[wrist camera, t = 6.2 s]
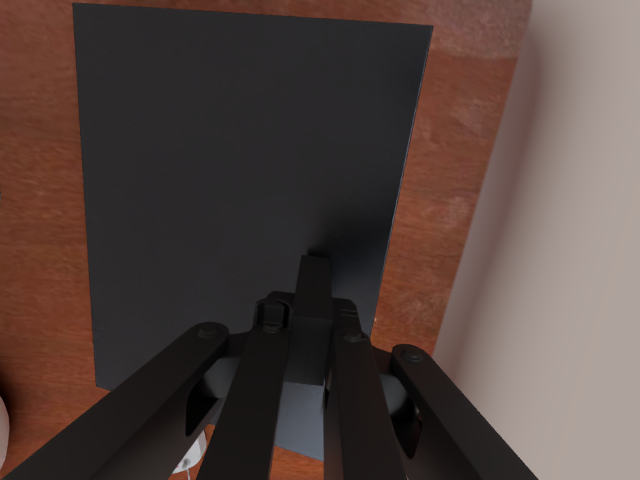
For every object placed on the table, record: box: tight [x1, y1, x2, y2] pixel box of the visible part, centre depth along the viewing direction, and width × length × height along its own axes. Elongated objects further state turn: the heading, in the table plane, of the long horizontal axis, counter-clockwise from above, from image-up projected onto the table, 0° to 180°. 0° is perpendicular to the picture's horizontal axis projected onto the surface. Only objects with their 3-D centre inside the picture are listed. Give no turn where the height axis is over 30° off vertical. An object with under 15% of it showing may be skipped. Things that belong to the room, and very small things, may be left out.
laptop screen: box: [72, 2, 433, 462], centre depth 20 cm, size 19×25×1 cm
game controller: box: [173, 430, 206, 480], centre depth 28 cm, size 6×12×3 cm, turn 35°
